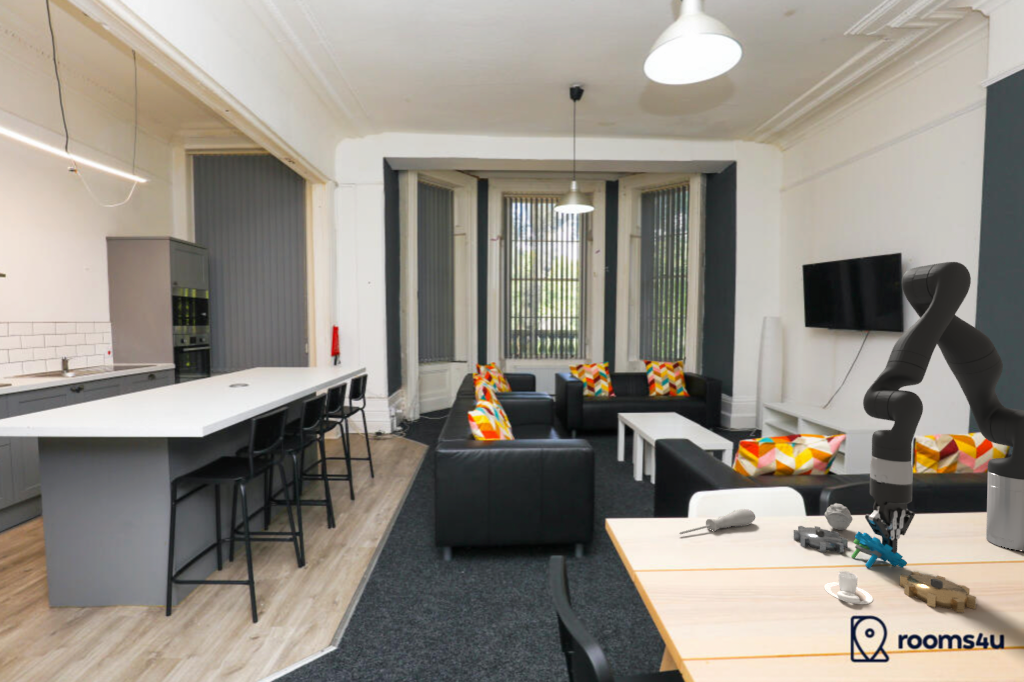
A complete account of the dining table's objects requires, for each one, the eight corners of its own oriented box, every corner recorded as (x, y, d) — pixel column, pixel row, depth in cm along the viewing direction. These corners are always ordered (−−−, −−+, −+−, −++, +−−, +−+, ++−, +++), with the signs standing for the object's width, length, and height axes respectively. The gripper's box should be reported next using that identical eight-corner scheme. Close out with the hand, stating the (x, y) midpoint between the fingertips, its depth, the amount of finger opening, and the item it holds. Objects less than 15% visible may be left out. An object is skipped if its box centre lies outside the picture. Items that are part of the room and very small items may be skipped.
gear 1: (816, 530, 126) (816, 519, 126) (858, 549, 115) (859, 537, 115) (783, 536, 122) (783, 524, 122) (824, 556, 112) (824, 543, 112)
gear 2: (919, 569, 102) (886, 536, 102) (904, 591, 101) (870, 558, 101) (875, 552, 113) (844, 523, 113) (860, 572, 112) (830, 542, 112)
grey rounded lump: (824, 531, 125) (825, 505, 125) (824, 522, 131) (824, 497, 131) (853, 537, 122) (853, 509, 122) (851, 527, 128) (851, 501, 128)
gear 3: (906, 575, 103) (906, 561, 103) (979, 597, 94) (979, 582, 94) (894, 594, 95) (894, 579, 95) (971, 620, 87) (972, 603, 87)
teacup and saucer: (856, 611, 90) (856, 590, 90) (813, 591, 97) (813, 571, 97) (881, 600, 94) (881, 579, 94) (838, 581, 101) (838, 562, 101)
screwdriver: (674, 540, 124) (671, 523, 125) (747, 521, 133) (743, 505, 134) (686, 544, 120) (683, 526, 120) (761, 524, 129) (757, 507, 129)
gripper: (893, 470, 114) (892, 543, 114) (852, 475, 110) (851, 551, 110) (929, 479, 107) (928, 557, 107) (887, 485, 102) (886, 566, 103)
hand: (889, 553), depth 108 cm, fingers closed
